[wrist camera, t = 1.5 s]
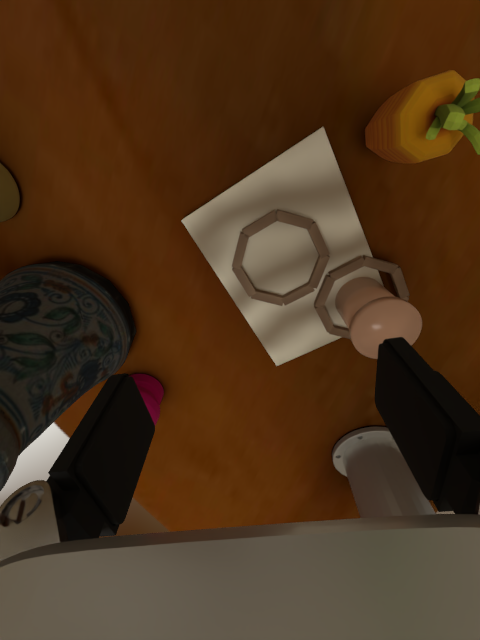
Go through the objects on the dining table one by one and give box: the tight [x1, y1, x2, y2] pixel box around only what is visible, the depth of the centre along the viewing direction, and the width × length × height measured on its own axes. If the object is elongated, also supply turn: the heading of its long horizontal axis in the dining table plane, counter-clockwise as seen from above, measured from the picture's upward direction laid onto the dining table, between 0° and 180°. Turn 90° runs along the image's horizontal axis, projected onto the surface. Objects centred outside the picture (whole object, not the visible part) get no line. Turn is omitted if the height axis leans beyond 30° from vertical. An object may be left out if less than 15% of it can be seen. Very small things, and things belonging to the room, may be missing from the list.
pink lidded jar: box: [335, 277, 422, 359], centre depth 30 cm, size 6×6×8 cm
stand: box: [181, 127, 409, 366], centre depth 32 cm, size 23×18×2 cm
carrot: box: [365, 70, 480, 164], centre depth 20 cm, size 5×5×15 cm
